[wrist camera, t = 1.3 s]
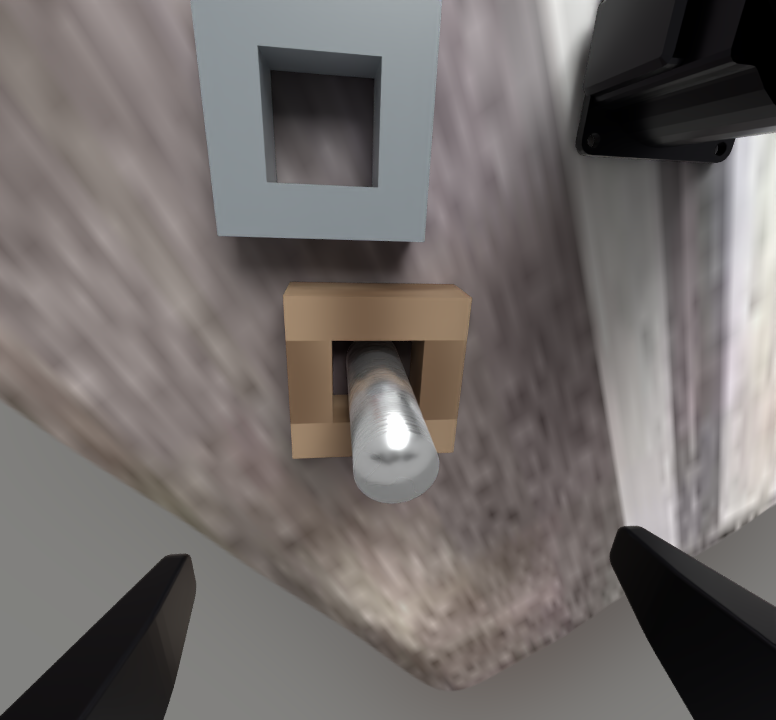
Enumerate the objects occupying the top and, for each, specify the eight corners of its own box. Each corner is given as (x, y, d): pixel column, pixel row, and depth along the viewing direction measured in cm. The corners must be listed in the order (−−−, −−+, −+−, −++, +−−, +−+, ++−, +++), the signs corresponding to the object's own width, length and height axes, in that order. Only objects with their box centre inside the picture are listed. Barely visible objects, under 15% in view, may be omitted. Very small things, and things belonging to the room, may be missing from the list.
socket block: (454, 284, 17) (472, 298, 15) (439, 422, 20) (453, 452, 18) (290, 281, 17) (283, 295, 14) (297, 426, 19) (292, 458, 17)
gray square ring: (424, 23, 14) (442, -10, 12) (411, 235, 16) (424, 242, 14) (212, 2, 13) (185, -39, 11) (235, 229, 16) (217, 235, 13)
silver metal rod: (399, 334, 18) (443, 430, 11) (396, 382, 19) (435, 501, 12) (345, 334, 18) (353, 433, 10) (345, 382, 19) (353, 505, 11)
